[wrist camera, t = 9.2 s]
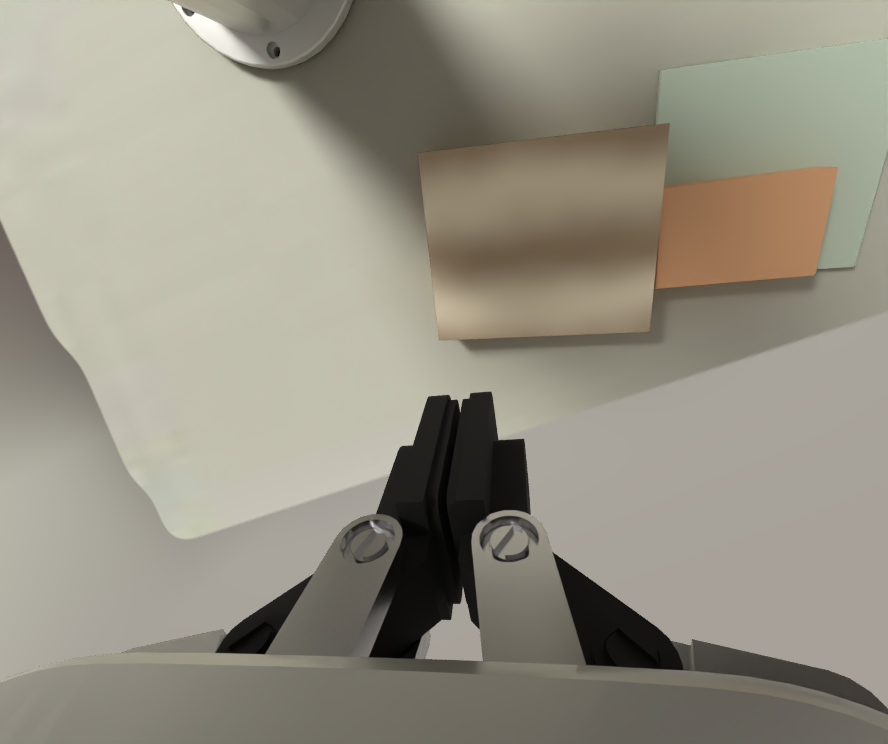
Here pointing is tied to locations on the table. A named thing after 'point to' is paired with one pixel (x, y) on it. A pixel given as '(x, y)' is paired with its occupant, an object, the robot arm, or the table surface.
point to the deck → (545, 233)
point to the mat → (786, 126)
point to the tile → (743, 227)
